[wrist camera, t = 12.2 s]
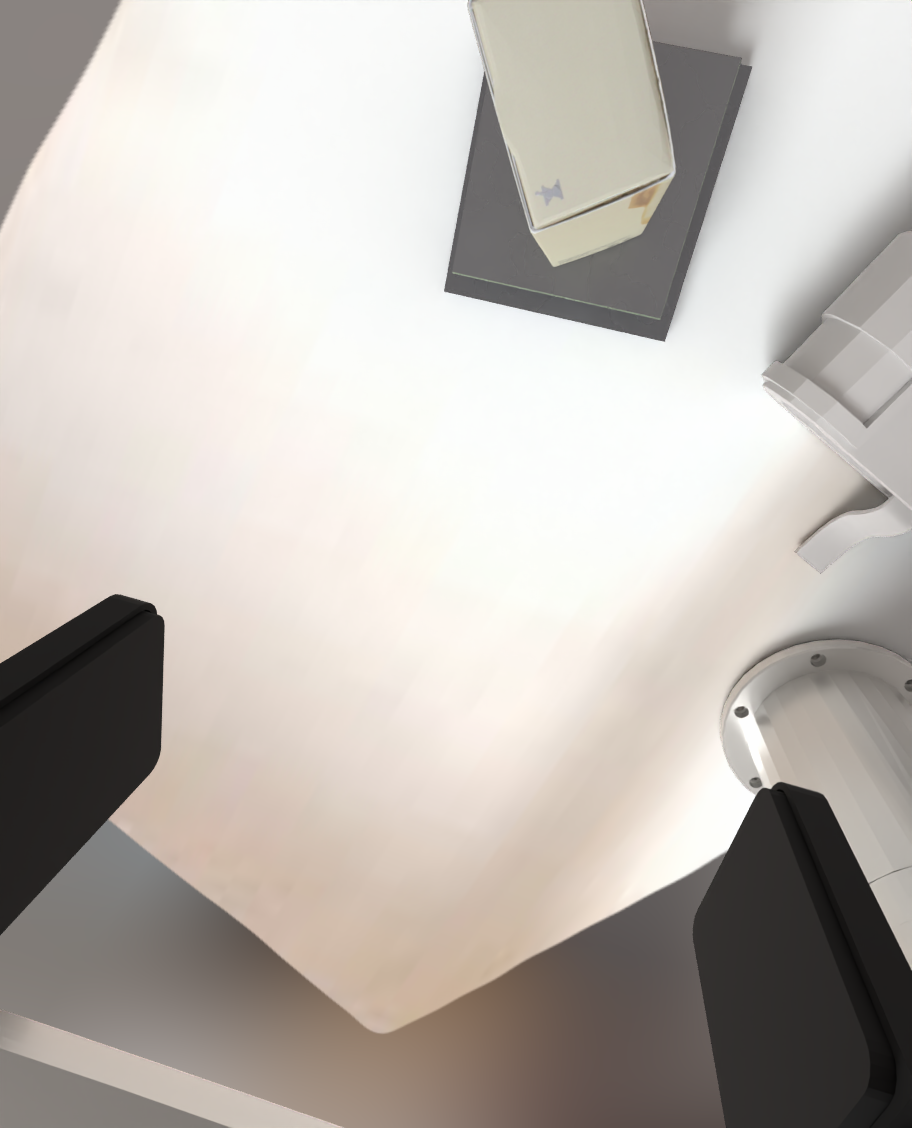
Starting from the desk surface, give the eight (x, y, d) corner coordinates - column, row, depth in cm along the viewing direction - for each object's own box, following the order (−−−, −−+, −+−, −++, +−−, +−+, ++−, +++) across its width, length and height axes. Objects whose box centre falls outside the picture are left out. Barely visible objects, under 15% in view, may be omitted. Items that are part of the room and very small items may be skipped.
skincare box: (645, 234, 29) (685, 188, 18) (550, 270, 30) (532, 248, 19) (609, 72, 27) (627, -95, 16) (509, 117, 28) (461, -8, 17)
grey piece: (747, 73, 30) (776, 32, 26) (662, 340, 35) (674, 345, 30) (496, 26, 31) (482, -22, 27) (447, 291, 36) (428, 289, 31)
